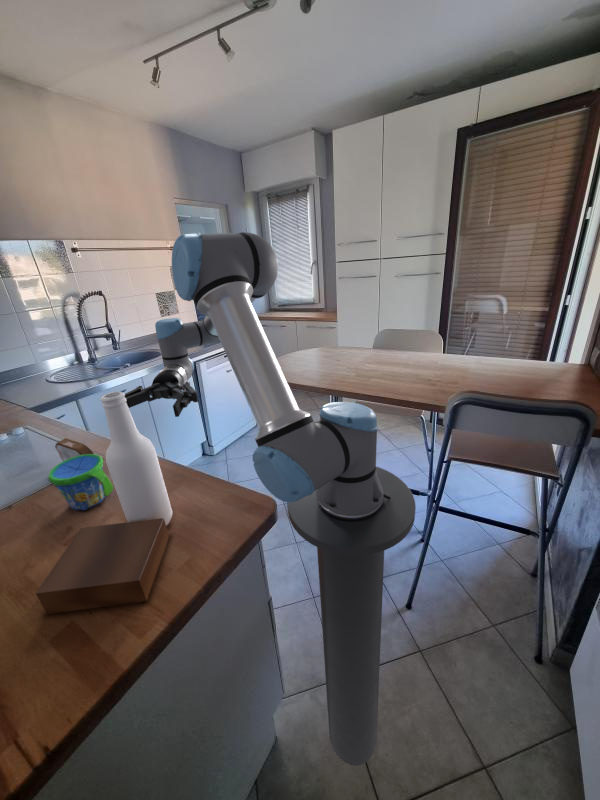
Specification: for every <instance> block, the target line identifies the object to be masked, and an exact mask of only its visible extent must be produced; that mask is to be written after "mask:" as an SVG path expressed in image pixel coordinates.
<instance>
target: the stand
mask: <svg viewBox="0 0 600 800" xmlns="http://www.w3.org/2000/svg"><path fill="white" fill-rule="evenodd" d="M169 539H170V535H169V531H168V528H167V526H166V524H165V521H164V518H161V519H152V520H144V521H135V522H127V521H126V522H119V523H111V524H102V525H94V526H86V527H80V529H79V530H78V531H77V533H76V534H75V536H74V537H73V539H72V540H71V541H70V543H69V544H68V546H67V547H66V548H65V550H64V551H63V553H62V554H61V555H60V557H59V558H58V560H57V561H56V563H55V564H54V566H53V567H52V569H51V570H50V572H49V573H48V575H47V576H46V577H45V579H44V581H43V582H42V583H41V585H40V586H39V588H38V589H37V590H36V592H35V595H36V598H37V599H38V601H39V603H40V604H41V606H42V608H43V610H44V612H45V613H46V615H52V614H58V613H59V614H60V613H68V612H75V611H82V610H83V611H84V610H90V609H99V608H107V607H112V606H113V607H114V606H121V605H128V604H137V603H144V602H147V601H148V598H149V596H150V594H151V590H152V587H153V585H154V582H155V579H156V576H157V573H158V570H159V567H160V565H161V561H162V559H163V556H164V554H165V551H166V548H167V546H168V545H167V544H168V542H169Z"/></svg>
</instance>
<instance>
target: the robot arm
mask: <svg viewBox="0 0 600 800" xmlns="http://www.w3.org/2000/svg"><path fill="white" fill-rule="evenodd" d="M171 273H172V280H173V284H174V287H175V290H176V292H177V295H178V296H179V298H180V299H181V300H183V301H187V302H191V301H193V303H194V305H195V307H196V309H197V311H198V313H199V314H201V315H204V316H205V317H204V318H203V319H201V320H196V321H191V322H184V323H183V321H182V319H180V318H178V317H170V318H163V319H159V320H157V321H156V322H155V323H154V327H155V333H156V339H157V343H158V347H159V350H160V354H161V359H162V363H163V368H162V369H161V370H160V371H159V373H158V374H157V375H156V376H155V377H154V378H153V380H152V383H151V385H150V386H147V387H143V385H139V386H136V387H135V388H134V389H131V390H129V391H127V392H126V393H125V392H124V394H125V398H126V400H127V401H126V403H127V405H128V408H129V409H130V408H134V407H136V406H138V405H141V404H143V403H145V402H149V403H150V402H153V401H156V400H160V399H165V400H175V402H174V403H173V405H172V409H173V413H174V417H175V418H179V417H180V415H181V413H182V412H183V410H184V408H185V409H186V408H187V407H188V406H189V405H190V404H191V402H192V403H198V402H199V397H198V392H197V391H196V389H194V387H192V384H191V382H190V381H189V380H190V378H192V376H193V372H194V369H195V365H194V362H193V361H192V359H191V358H190V357H189V351H188V350H190V349H193V348H198V347H201V346H207V345H211V344H216V343H220V344H221V347H222V348H223V350H224V353H225V355H226V358H227V361H229V365H230V366H231V370H232V371H233V373H234V375H235V378H236V380H237V382H238V385H239V387H240V389H241V391H242V394H243V395H244V399H245V401H246V403H247V405H248V407H249V409H250V412H251V414H252V416H253V418H254V422H255V423H256V425H257V432H256V434H255V437H254V440H255V443H256V445H257V447H256V449H255V450H254V451H253V453H252V462H253V468H254V470H255V473H256V475H257V477H258V478H259V480H260V482H261V483H262V485H263V486H264V487H265V489H266V490H267V491H268V492H269V493H270V494H271V495H272V496H274V497H275V498H277V499H278V500H280V501H282V502H285V503H287V502H289V503H292V502H296V501H298V500H300V499H302V498H304V497H306V496H309V495H311V494H312V493H313V492H314V491H316V490H317V492H316V496H317V503H318V505H319V507H320V509H321V510H322V511H323V512H324V513H326V514H327V515H329V516H330V517H333V518H335V519H338V520H342V521H361V520H365V519H368V518H371V517H372V516H374V515H376V514H377V513H378V512H379V511H380V509H381V508H382V505H383V497H384V498H387V499H389V500H390V498H391V497H390V496H388V495H386V494H384V493H383V489H382V486H381V484H380V481H379V478H378V475H377V473H376V467H377V443H378V442H377V440H378V439H377V438H378V430H379V427H378V421H377V420H378V418H377V415H376V412H375V411H374V410H373V409H372V408H371V407H369V406H366V405H364V404H361V403H357V402H352V401H351V402H349V401H335V402H329V403H326V404H324V405H323V406H321V408H320V411H319V413H318V415H319V420H317V421H314V418H313V416H312V414H311V413H309V412H307V411H305V410H302V409H301V408H300V407H299V404H298V403H297V400H296V398H295V395H294V394H293V391H292V389H291V387H290V385H289V382H288V380H287V378H286V377H285V374H284V372H283V369H282V367H281V365H280V363H279V361H278V358H277V356H276V353H275V352H274V350H273V347H272V345H271V343H270V341H269V339H268V337H267V334H266V332H265V330H264V328H263V326H262V323H261V321H260V319H259V317H258V314H257V313H256V310H255V308H254V306H253V302H255V300H256V299H257V300H258V299H262V298H264V296H266V295H267V293H268V292H269V291H270V290H271V289H272V288H273V286H274V285H275V283H276V281H277V279H278V274H279V260H278V257H277V254H276V252H275V250H274V248H273V247H272V245H271V244H270V243H269V242H268V241H267V240H266V239H264V238H263V237H262V236H260V235H258V234H256V233H252V232H247V231H246V232H243V231H241V232H213V233H211V232H210V233H202V232H200V231H199V232H198V231H196V232H195V233H185V234H181V235H179V236H178V237H177V238H176V239H175V241H174V243H173V246H172V250H171Z"/></svg>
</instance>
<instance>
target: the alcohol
mask: <svg viewBox="0 0 600 800" xmlns="http://www.w3.org/2000/svg"><path fill="white" fill-rule="evenodd" d="M99 400H100V401H101V402H102V403H101V405H102V407H103V409H104V414H105V417H106V422H107V426H108V430H109V435H110V443H109V446H108V447H107V449H106V452H105V463H106V466H107V469H108V472H109V475H110V477H111V480H112V484H113V487H114V488H115V491H116V494H117V497H118V500H119V502H120V506H121V508H122V511H123V515H124V517H125V519H126V520H125V521H126V523H127V522H135V521H144V520H152V519H161V518H164V521H165V524H166V527H167V526H168V525H169V523H170V522H171V519H172V518H173V509H172V505H171V502H170V498H169V495H168V491H167V487H166V483H165V480H164V476H163V472H162V469H161V466H160V463H159V458H158V455H157V451H156V448H155V445H154V444H153V442H152V441H151V439H149V438H148V437H147V436H145V435H142V434H141V433H140V432H139V430H138V428H137V426H136V423H135V421H134V418H133V415H132V413H131V410H130V408H128V405H127V403H126V401H127V400H126V398H125V392H124V391H123V392H122V391H111V392H108V393H105V394H103V395H102V396H101V397H100V399H99Z"/></svg>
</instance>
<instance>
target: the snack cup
mask: <svg viewBox="0 0 600 800" xmlns="http://www.w3.org/2000/svg"><path fill="white" fill-rule="evenodd" d="M103 467H104V459H103V457H102V456H100V455H98V454H95V453H94V454H85V455H80V456H76V457H72V458H70V459H67V460H65V461H63V460H62V461H61V462H60V463H58V464H56V465H55V466H54V467H53V468H51V470H50V471H49V473H48V480H49V482H50V483H52V484H53V485H54V487H56V488H57V490H58V491H59V493H60V494H61V496H62V498H64V500H65V502H66V503H67V504H68V506H69V507H70V508H71V509H72V510H74V511H86V510H88V509H91V508H94V507H96V506H97V505H98V504H102V502H103V500H104V499H105V498H106V497H109V495H111V493H112V492H113V490H114V484H113V482H111V480H110V478H109V477H108V476H107V474H106V472H105V471H104V470H103Z"/></svg>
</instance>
